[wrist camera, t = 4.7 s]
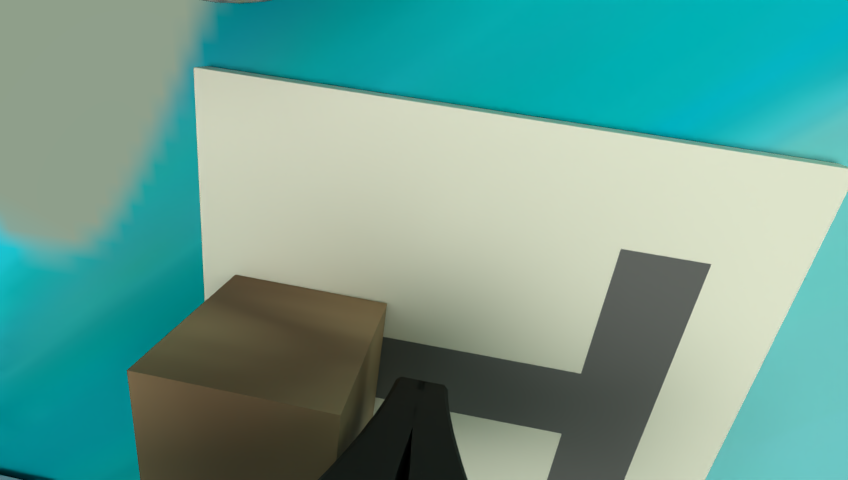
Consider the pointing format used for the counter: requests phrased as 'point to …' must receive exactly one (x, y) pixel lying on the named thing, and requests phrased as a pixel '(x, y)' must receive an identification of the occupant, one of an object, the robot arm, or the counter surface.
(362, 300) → the walnut block
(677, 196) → the board
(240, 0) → the canned food
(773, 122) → the counter surface
